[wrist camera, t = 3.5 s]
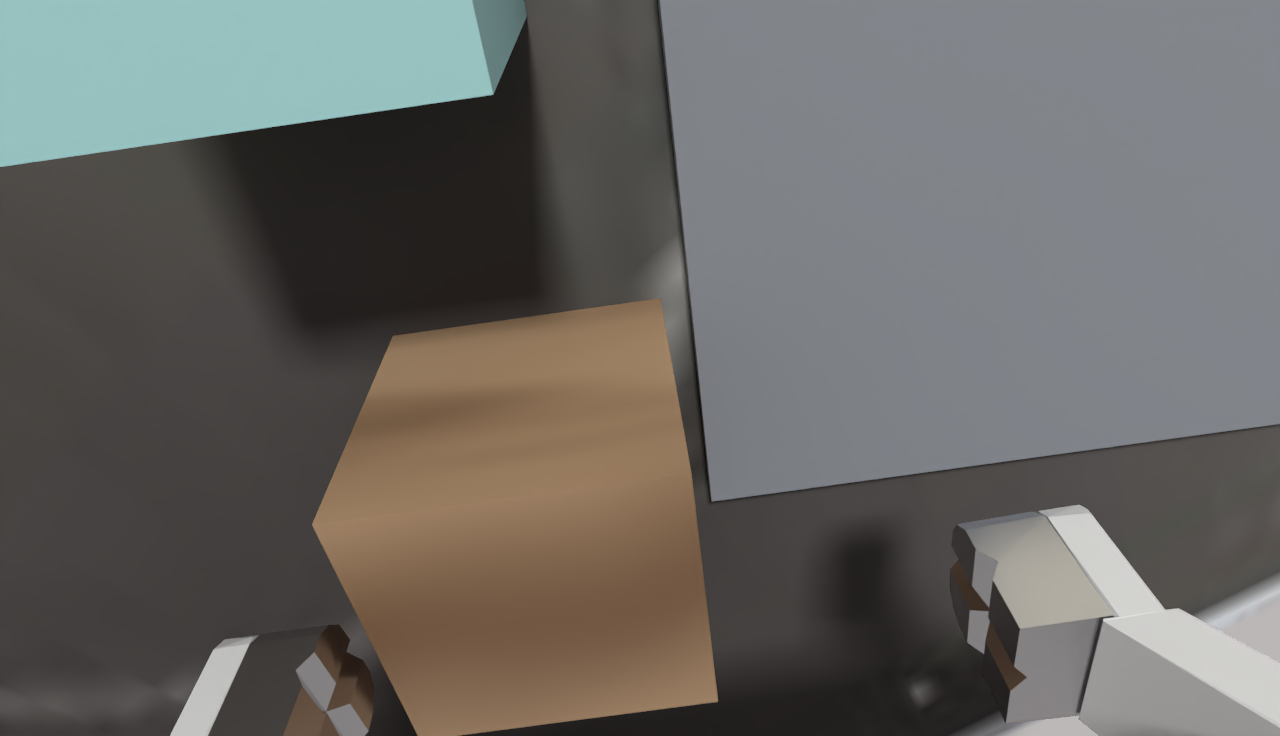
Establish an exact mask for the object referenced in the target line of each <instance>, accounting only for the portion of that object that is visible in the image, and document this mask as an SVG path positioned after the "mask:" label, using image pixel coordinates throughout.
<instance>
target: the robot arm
mask: <svg viewBox="0 0 1280 736" xmlns="http://www.w3.org/2000/svg"><path fill="white" fill-rule="evenodd" d="M952 547H953V549H954V551H955V553H956V555H957V557H958V559H959V560H958V561H957V563H956V564H955V565H954V566H953V567H952V568H951V569H950V592H951V598H952V603H953V608H954V611H955V614H956V617H957V620H958V623H959V626H960V628H961V630H962V632H963V634H964V637H965V639H966V641H967V643H969V644H970V645H972V646H973V647H974V648H976V649H977V650H979V651H980V652H982V653H983V654H984V659H983V670H982V675H983V677H984V679H985V681H986V683H987V685H988V687H989V690H990V692H991V694H992V696H993V698H994V700H995V702H996V704H997V706H998V708H999V710H1000V712H1001V714H1002V717H1003V719H1004V721H1005V723H1006V724H1007V723H1016V722H1025V721H1034V720H1042V719H1051V718H1060V717H1069V716H1078V715H1079V720H1080V721H1081V722H1083V723H1084V724H1085V725H1086V726H1088V727H1089V728H1090V729H1091V730H1092V731H1094V732H1095V733H1096V734H1098V735H1099V736H1280V663H1279V662H1278V661H1276V660H1274V659H1272V658H1270V657H1268V656H1266V655H1265V654H1263V653H1261V652H1259V651H1257V650H1255V649H1253V648H1252V647H1250V646H1248V645H1246V644H1244V643H1242V642H1240V641H1239V640H1237V639H1235V638H1233V637H1231V636H1229V635H1228V634H1226V633H1224V632H1222V631H1220V630H1218V629H1216V628H1215V627H1213V626H1211V625H1209V624H1207V623H1205V622H1203V621H1202V620H1200V619H1198V618H1196V617H1194V616H1192V615H1190V614H1189V613H1187V612H1185V611H1183V610H1181V609H1179V608H1175V609H1166V610H1165V609H1164V607H1163V606H1162V605H1161V604H1160V602H1159V601H1158V600H1157V598H1156V597H1155V596H1154V595H1153V593H1152V592H1151V591H1150V589H1149V588H1148V587H1147V585H1146V584H1145V583H1144V582H1143V580H1142V579H1141V578H1140V576H1139V575H1138V574H1137V572H1136V571H1135V570H1134V569H1133V567H1132V566H1131V565H1130V563H1129V562H1128V561H1127V560H1126V558H1125V557H1124V556H1123V554H1122V553H1121V552H1120V550H1119V549H1118V548H1117V547H1116V545H1115V544H1114V543H1113V541H1112V540H1111V539H1110V537H1109V536H1108V535H1107V534H1106V532H1105V531H1104V530H1103V528H1102V527H1101V526H1100V524H1099V523H1098V522H1097V521H1096V519H1095V518H1094V517H1093V515H1092V514H1091V513H1090V512H1089V510H1088V509H1086V508H1084V507H1083V506H1081V505H1074V506H1068V507H1061V508H1055V509H1049V510H1043V511H1038V512H1027V513H1021V514H1015V515H1010V516H1004V517H998V518H992V519H986V520H980V521H974V522H969V523H963V524H957V525H956V526H955V528H954V530H953V534H952ZM349 641H350V639H349V638H348V636H347V635H346V634H345V632H344V631H343V629H342V628H341V627H340V625H326V626H319V627H311V628H303V629H296V630H288V631H280V632H273V633H265V634H260V635H253V636H246V637H239V638H232V639H225V640H224V641H223V642H221V643H220V644H219V645H218V646H217V647H216V648H215V649H214V650H213V651H212V653H211V655H210V657H209V659H208V661H207V663H206V665H205V667H204V669H203V671H202V673H201V675H200V677H199V679H198V681H197V683H196V685H195V687H194V689H193V691H192V693H191V695H190V697H189V699H188V701H187V703H186V705H185V707H184V709H183V711H182V713H181V715H180V717H179V719H178V721H177V723H176V725H175V727H174V729H173V731H172V733H171V735H170V736H365V735H366V733H367V732H368V731H369V727H370V723H371V719H372V715H373V711H374V685H373V682H372V678H371V674H370V671H369V670H368V668H367V666H366V665H365V663H364V661H363V660H361V659H359V658H357V657H355V656H353V655H351V654H349V653H347V652H346V651H347V647H348V644H349Z"/></svg>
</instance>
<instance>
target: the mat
mask: <svg viewBox="0 0 1280 736" xmlns="http://www.w3.org/2000/svg"><path fill="white" fill-rule="evenodd" d="M658 8H659V17H660V27H661V36H662V46H663V55H664V65H665V74H666V84H667V93H668V103H669V112H670V122H671V131H672V141H673V151H674V160H675V170H676V179H677V189H678V198H679V208H680V217H681V227H682V236H683V246H684V255H685V265H686V274H687V284H688V293H689V303H690V312H691V322H692V332H693V341H694V351H695V360H696V370H697V379H698V389H699V398H700V408H701V417H702V427H703V436H704V446H705V455H706V465H707V474H708V484H709V491H710V496H711V501H712V502H713V501H720V500H727V499H734V498H742V497H749V496H756V495H764V494H771V493H778V492H786V491H793V490H800V489H808V488H815V487H822V486H829V485H837V484H844V483H851V482H859V481H866V480H873V479H881V478H888V477H895V476H903V475H910V474H917V473H925V472H932V471H939V470H946V469H954V468H961V467H968V466H976V465H983V464H990V463H998V462H1005V461H1012V460H1020V459H1027V458H1034V457H1041V456H1049V455H1056V454H1063V453H1071V452H1078V451H1085V450H1093V449H1100V448H1107V447H1115V446H1122V445H1129V444H1136V443H1144V442H1151V441H1158V440H1166V439H1173V438H1180V437H1188V436H1195V435H1202V434H1210V433H1217V432H1224V431H1232V430H1239V429H1246V428H1253V427H1261V426H1268V425H1275V424H1280V0H658Z"/></svg>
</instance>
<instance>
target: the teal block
mask: <svg viewBox="0 0 1280 736" xmlns="http://www.w3.org/2000/svg"><path fill="white" fill-rule="evenodd" d="M526 17H527V13H526V8H525V3H524V0H0V167H3V166H10V165H16V164H23V163H30V162H37V161H44V160H51V159H57V158H64V157H71V156H78V155H85V154H92V153H98V152H105V151H112V150H119V149H126V148H133V147H139V146H146V145H153V144H160V143H167V142H173V141H180V140H187V139H194V138H201V137H208V136H214V135H221V134H228V133H235V132H242V131H249V130H255V129H262V128H269V127H276V126H283V125H290V124H296V123H303V122H310V121H317V120H324V119H331V118H337V117H344V116H351V115H358V114H365V113H372V112H378V111H385V110H392V109H399V108H406V107H412V106H419V105H426V104H433V103H440V102H447V101H453V100H460V99H467V98H474V97H481V96H488V95H493V94H494V92H495V90H496V87H497V85H498V83H499V80H500V78H501V76H502V73H503V71H504V69H505V66H506V64H507V62H508V59H509V57H510V55H511V52H512V50H513V48H514V45H515V43H516V41H517V38H518V36H519V34H520V31H521V29H522V27H523V24H524V22H525V20H526Z"/></svg>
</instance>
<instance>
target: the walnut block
mask: <svg viewBox="0 0 1280 736" xmlns="http://www.w3.org/2000/svg"><path fill="white" fill-rule="evenodd" d="M312 526H313V528H314V530H315V532H316V534H317V536H318V538H319V540H320V542H321V544H322V546H323V548H324V550H325V552H326V554H327V556H328V558H329V560H330V562H331V564H332V566H333V568H334V570H335V572H336V574H337V576H338V578H339V580H340V582H341V584H342V586H343V588H344V590H345V592H346V594H347V596H348V598H349V600H350V601H351V603H352V605H353V607H354V609H355V611H356V613H357V615H358V617H359V619H360V621H361V623H362V625H363V627H364V629H365V631H366V633H367V635H368V637H369V639H370V641H371V643H372V645H373V647H374V649H375V651H376V653H377V655H378V657H379V659H380V661H381V663H382V665H383V667H384V669H385V671H386V673H387V675H388V677H389V679H390V681H391V683H392V685H393V687H394V689H395V691H396V693H397V695H398V697H399V699H400V701H401V703H402V705H403V707H404V709H405V711H406V713H407V715H408V717H409V719H410V721H411V723H412V725H413V727H414V729H415V731H416V733H417V735H418V736H459V735H467V734H474V733H482V732H490V731H497V730H505V729H513V728H520V727H528V726H536V725H543V724H551V723H559V722H566V721H574V720H582V719H589V718H597V717H605V716H612V715H620V714H628V713H635V712H643V711H651V710H658V709H666V708H674V707H681V706H689V705H697V704H704V703H712V702H718V696H717V688H716V679H715V671H714V662H713V654H712V645H711V636H710V628H709V619H708V611H707V602H706V594H705V585H704V577H703V568H702V560H701V551H700V543H699V534H698V525H697V517H696V508H695V500H694V491H693V483H692V474H691V468H690V463H689V457H688V451H687V446H686V440H685V434H684V429H683V423H682V417H681V412H680V406H679V401H678V395H677V389H676V384H675V378H674V372H673V367H672V361H671V355H670V350H669V344H668V339H667V333H666V327H665V322H664V316H663V310H662V305H661V299H660V298H659V299H652V300H645V301H638V302H631V303H624V304H616V305H609V306H602V307H595V308H588V309H581V310H574V311H567V312H559V313H552V314H545V315H538V316H531V317H524V318H517V319H509V320H502V321H495V322H488V323H481V324H474V325H467V326H460V327H452V328H445V329H438V330H431V331H424V332H417V333H410V334H403V335H395V336H393V337H392V339H391V341H390V344H389V346H388V348H387V351H386V353H385V355H384V358H383V360H382V362H381V365H380V367H379V369H378V372H377V374H376V376H375V379H374V381H373V383H372V386H371V388H370V390H369V393H368V395H367V397H366V400H365V402H364V404H363V407H362V409H361V411H360V414H359V416H358V419H357V421H356V423H355V426H354V428H353V430H352V433H351V435H350V437H349V440H348V442H347V444H346V447H345V449H344V451H343V454H342V456H341V458H340V461H339V463H338V465H337V468H336V470H335V472H334V475H333V477H332V479H331V482H330V484H329V486H328V489H327V491H326V493H325V496H324V498H323V500H322V503H321V505H320V507H319V510H318V512H317V514H316V517H315V519H314V521H313V524H312Z"/></svg>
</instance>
